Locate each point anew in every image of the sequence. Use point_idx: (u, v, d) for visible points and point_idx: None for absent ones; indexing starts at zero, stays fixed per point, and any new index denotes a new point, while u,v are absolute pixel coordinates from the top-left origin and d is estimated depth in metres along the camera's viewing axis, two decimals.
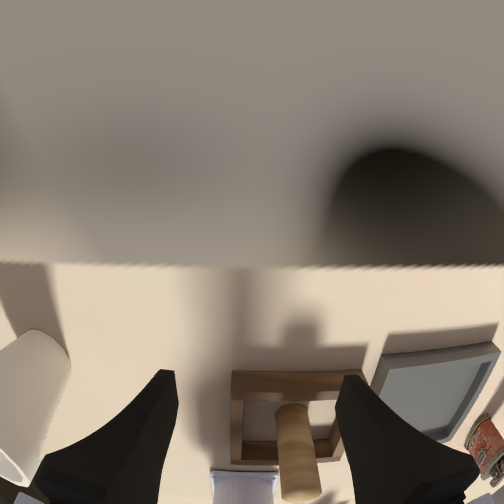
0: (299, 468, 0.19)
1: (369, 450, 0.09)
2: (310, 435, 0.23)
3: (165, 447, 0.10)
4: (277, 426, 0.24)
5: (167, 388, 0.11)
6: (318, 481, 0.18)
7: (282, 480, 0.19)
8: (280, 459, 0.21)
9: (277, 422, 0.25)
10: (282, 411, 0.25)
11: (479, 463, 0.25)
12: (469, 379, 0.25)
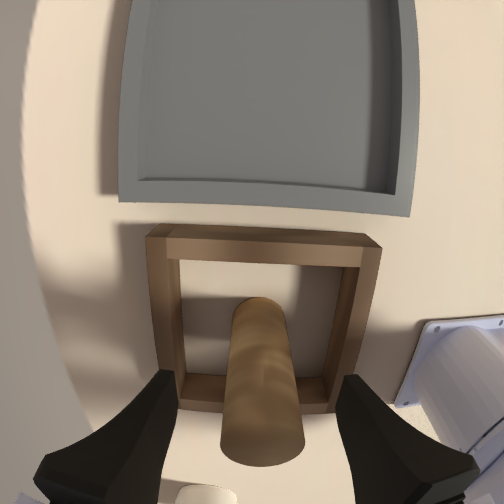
0: None
1: (369, 450, 0.09)
2: (242, 335, 0.14)
3: (165, 447, 0.10)
4: None
5: (167, 388, 0.11)
6: (237, 412, 0.10)
7: None
8: None
9: None
10: None
11: None
12: None
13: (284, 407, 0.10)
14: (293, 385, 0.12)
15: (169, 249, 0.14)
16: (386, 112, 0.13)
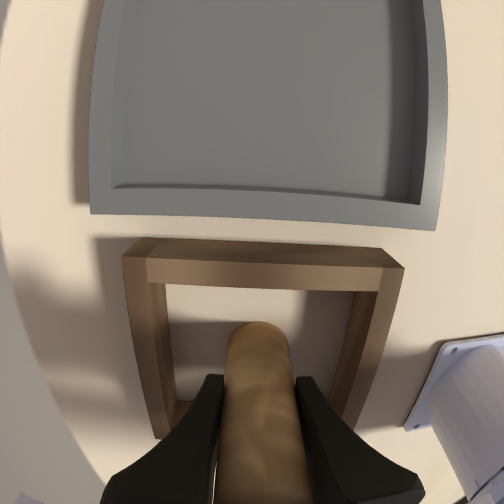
0: None
1: (312, 456, 0.08)
2: (238, 371, 0.12)
3: (216, 453, 0.10)
4: None
5: (221, 393, 0.11)
6: (232, 475, 0.07)
7: None
8: None
9: None
10: None
11: None
12: None
13: (289, 469, 0.07)
14: (299, 436, 0.09)
15: (150, 271, 0.11)
16: (408, 107, 0.11)
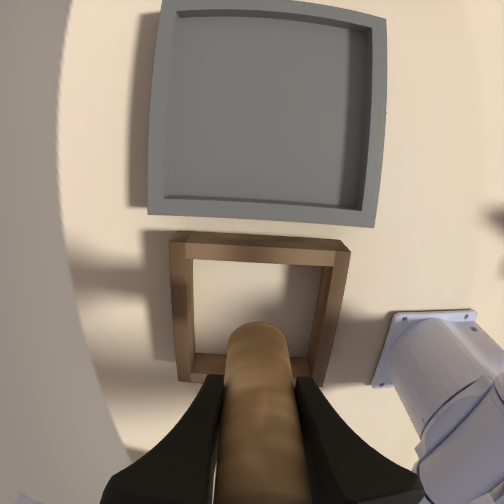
0: None
1: (312, 456, 0.08)
2: (238, 371, 0.12)
3: (216, 453, 0.10)
4: None
5: (221, 393, 0.11)
6: (232, 475, 0.07)
7: None
8: None
9: None
10: None
11: None
12: (228, 26, 0.16)
13: (288, 469, 0.07)
14: (299, 436, 0.09)
15: (187, 251, 0.19)
16: (357, 144, 0.18)
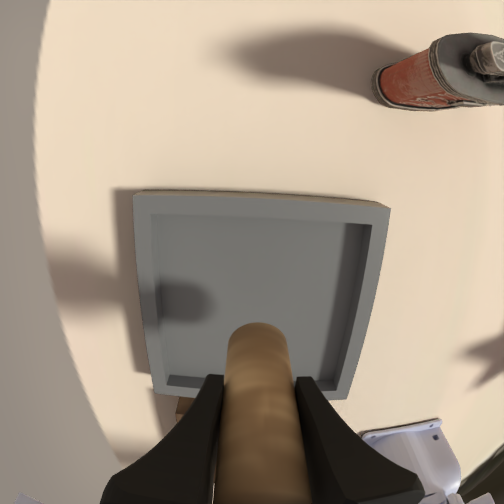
0: None
1: (312, 456, 0.08)
2: (238, 372, 0.12)
3: (216, 453, 0.10)
4: None
5: (221, 393, 0.11)
6: (232, 476, 0.07)
7: None
8: None
9: None
10: None
11: None
12: (211, 224, 0.17)
13: (289, 470, 0.07)
14: (299, 436, 0.09)
15: None
16: (340, 335, 0.20)
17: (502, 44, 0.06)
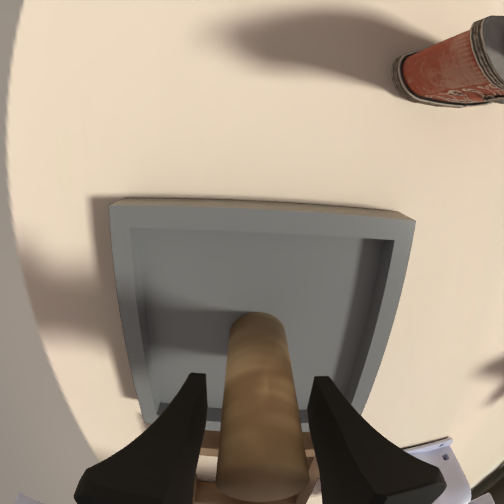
0: None
1: (333, 455, 0.08)
2: (239, 356, 0.13)
3: (198, 451, 0.10)
4: None
5: (201, 391, 0.11)
6: (234, 450, 0.08)
7: None
8: None
9: None
10: None
11: None
12: (203, 239, 0.15)
13: (287, 444, 0.08)
14: (296, 416, 0.10)
15: None
16: (351, 362, 0.17)
17: None
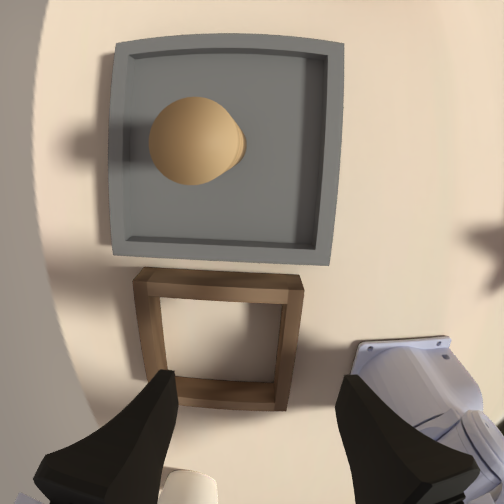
0: None
1: (369, 450, 0.09)
2: None
3: (165, 447, 0.10)
4: None
5: (167, 388, 0.11)
6: None
7: None
8: None
9: None
10: None
11: None
12: (181, 66, 0.17)
13: None
14: None
15: (149, 289, 0.19)
16: (313, 181, 0.19)
17: None
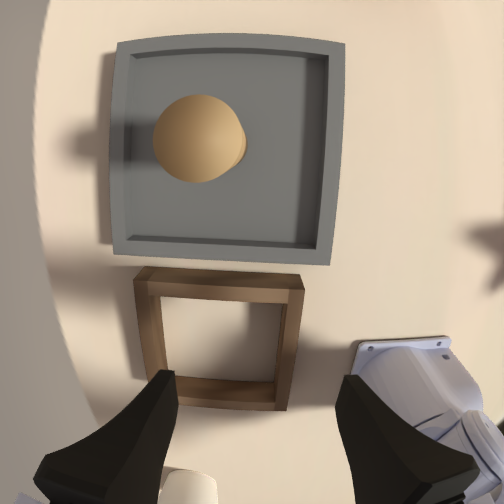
0: None
1: (369, 450, 0.09)
2: None
3: (165, 447, 0.10)
4: None
5: (167, 388, 0.11)
6: None
7: None
8: None
9: None
10: None
11: None
12: (182, 65, 0.17)
13: None
14: None
15: (149, 289, 0.19)
16: (314, 181, 0.19)
17: None
